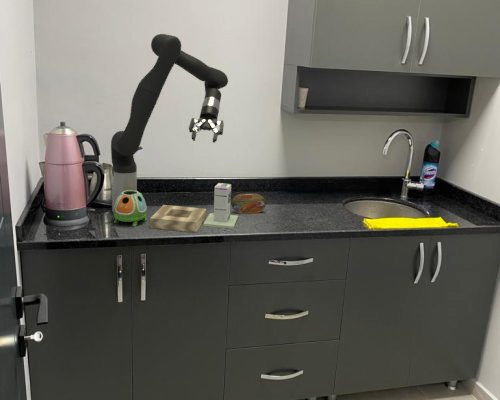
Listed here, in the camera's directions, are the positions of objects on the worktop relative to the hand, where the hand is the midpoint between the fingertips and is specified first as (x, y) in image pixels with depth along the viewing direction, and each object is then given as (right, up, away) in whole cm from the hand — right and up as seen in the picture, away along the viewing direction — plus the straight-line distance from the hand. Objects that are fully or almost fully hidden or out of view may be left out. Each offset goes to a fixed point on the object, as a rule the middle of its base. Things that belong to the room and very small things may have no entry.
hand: (203, 140), depth 209 cm
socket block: (-9, -34, -9) cm, 36 cm away
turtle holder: (-28, -33, -9) cm, 44 cm away
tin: (+18, -30, +10) cm, 37 cm away
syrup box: (+8, -33, -5) cm, 34 cm away
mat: (+8, -34, -5) cm, 35 cm away
